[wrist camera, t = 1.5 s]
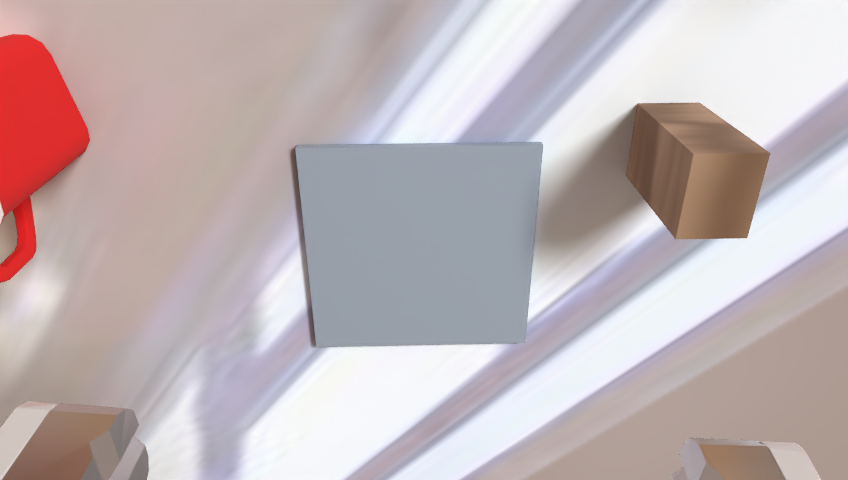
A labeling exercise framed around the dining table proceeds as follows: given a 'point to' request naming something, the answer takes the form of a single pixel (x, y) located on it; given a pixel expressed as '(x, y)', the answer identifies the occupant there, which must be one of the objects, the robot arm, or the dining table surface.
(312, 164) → the rubber mat
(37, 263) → the dining table surface
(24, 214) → the mug
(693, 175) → the walnut block
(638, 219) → the dining table surface
